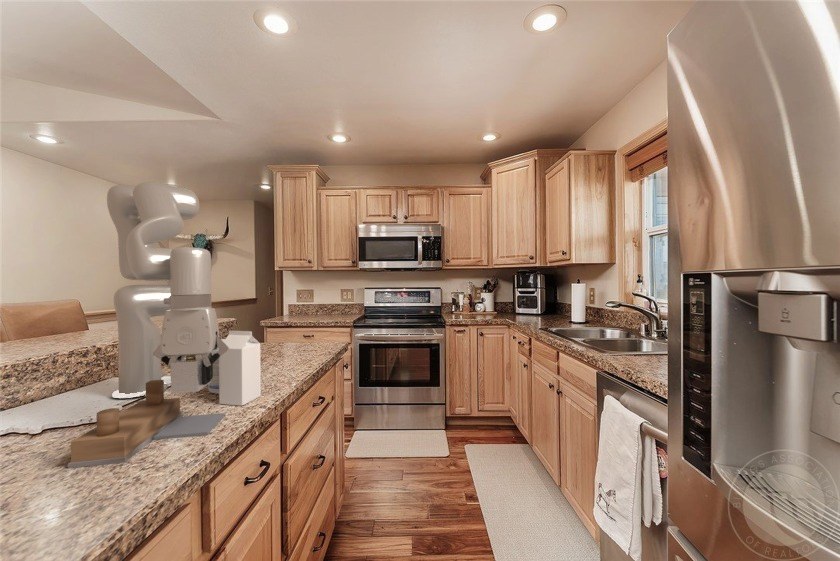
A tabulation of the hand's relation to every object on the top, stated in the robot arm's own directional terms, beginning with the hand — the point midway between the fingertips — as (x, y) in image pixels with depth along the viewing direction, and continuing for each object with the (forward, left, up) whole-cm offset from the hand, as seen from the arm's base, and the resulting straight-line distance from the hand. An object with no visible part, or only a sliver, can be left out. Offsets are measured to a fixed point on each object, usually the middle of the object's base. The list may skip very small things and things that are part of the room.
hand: (192, 383), depth 73 cm
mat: (0, 0, -10) cm, 10 cm away
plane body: (+3, -10, -10) cm, 14 cm away
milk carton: (-15, +5, -10) cm, 19 cm away
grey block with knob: (0, 0, -1) cm, 1 cm away
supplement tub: (-26, -2, -10) cm, 28 cm away
